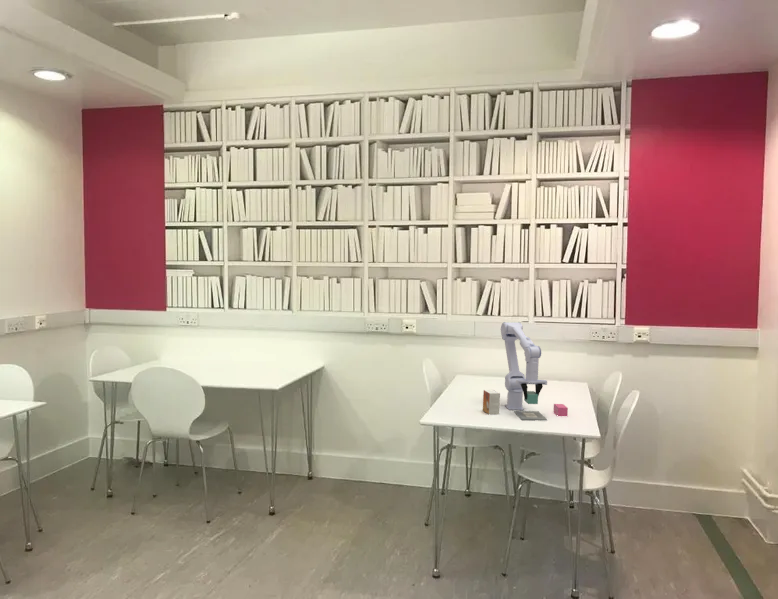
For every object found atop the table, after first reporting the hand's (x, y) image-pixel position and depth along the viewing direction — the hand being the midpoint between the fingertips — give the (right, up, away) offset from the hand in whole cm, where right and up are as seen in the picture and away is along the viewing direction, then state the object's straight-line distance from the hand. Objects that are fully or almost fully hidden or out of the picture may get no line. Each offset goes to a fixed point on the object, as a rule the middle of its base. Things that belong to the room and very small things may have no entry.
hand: (530, 399), depth 301 cm
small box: (-18, -8, +6) cm, 21 cm away
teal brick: (0, -1, 0) cm, 1 cm away
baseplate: (0, -8, +1) cm, 8 cm away
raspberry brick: (+16, -9, +6) cm, 19 cm away
